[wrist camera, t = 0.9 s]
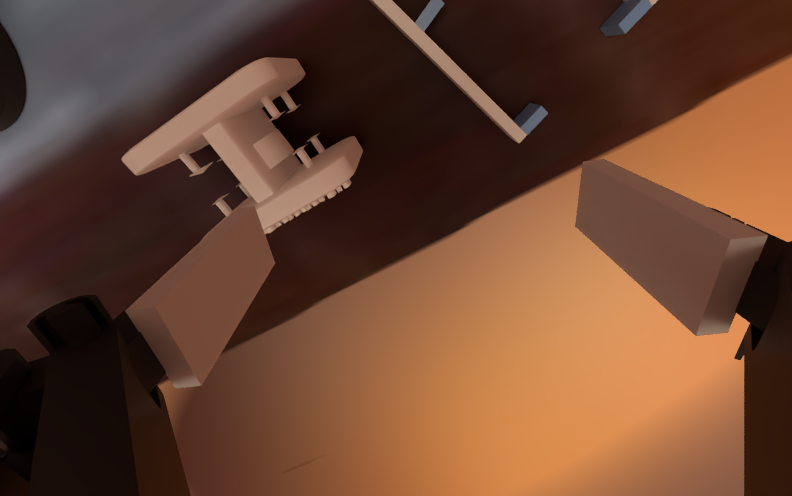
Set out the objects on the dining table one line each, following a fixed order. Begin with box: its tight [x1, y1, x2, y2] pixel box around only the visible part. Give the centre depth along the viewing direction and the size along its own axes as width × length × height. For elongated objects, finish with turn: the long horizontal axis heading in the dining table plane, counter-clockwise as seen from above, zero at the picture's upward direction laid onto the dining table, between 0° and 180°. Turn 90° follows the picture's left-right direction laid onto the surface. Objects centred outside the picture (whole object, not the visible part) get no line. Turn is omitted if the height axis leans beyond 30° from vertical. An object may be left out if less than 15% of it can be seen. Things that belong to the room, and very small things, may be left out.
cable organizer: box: [122, 57, 363, 240], centre depth 31 cm, size 15×11×12 cm
